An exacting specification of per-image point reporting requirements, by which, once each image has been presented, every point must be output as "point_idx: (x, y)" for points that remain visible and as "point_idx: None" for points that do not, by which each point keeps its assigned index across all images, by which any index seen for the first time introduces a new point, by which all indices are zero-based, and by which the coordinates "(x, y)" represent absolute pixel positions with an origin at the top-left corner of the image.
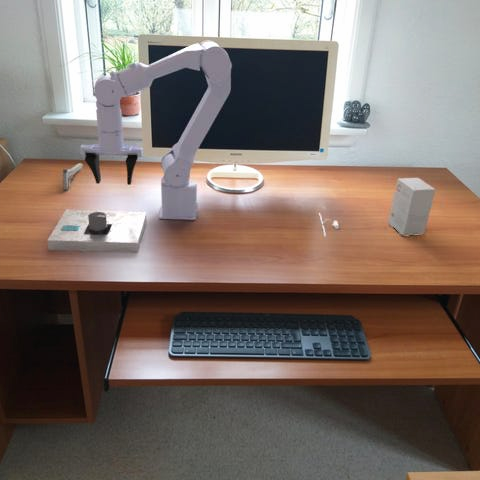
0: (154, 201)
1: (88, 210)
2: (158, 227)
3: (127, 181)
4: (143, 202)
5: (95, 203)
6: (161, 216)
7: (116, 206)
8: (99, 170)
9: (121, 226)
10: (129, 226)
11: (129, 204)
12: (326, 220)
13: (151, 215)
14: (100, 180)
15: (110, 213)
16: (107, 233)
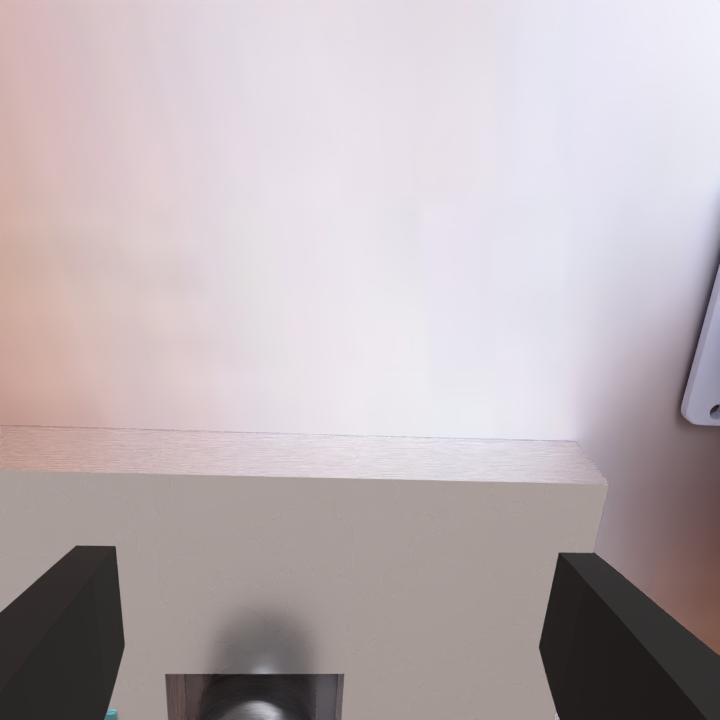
0: (688, 25)
1: (90, 479)
2: (652, 530)
3: (559, 708)
4: (571, 56)
5: (69, 93)
6: (707, 409)
7: (302, 166)
8: (32, 673)
9: (414, 700)
10: (470, 694)
11: (427, 113)
12: None
13: (622, 347)
14: (114, 562)
15: (302, 524)
16: (315, 689)
